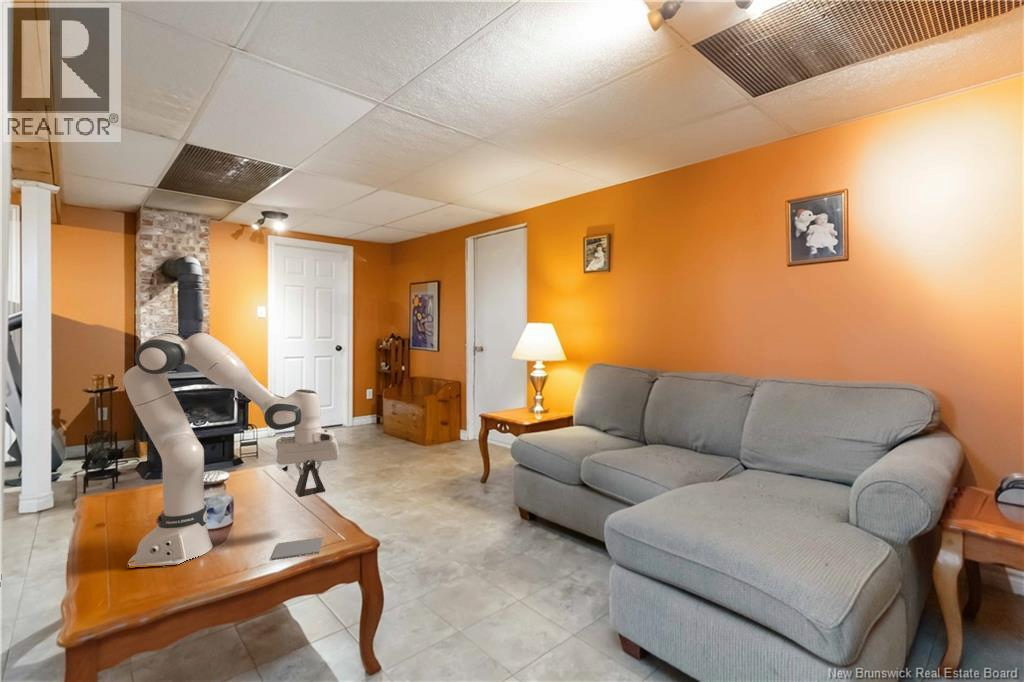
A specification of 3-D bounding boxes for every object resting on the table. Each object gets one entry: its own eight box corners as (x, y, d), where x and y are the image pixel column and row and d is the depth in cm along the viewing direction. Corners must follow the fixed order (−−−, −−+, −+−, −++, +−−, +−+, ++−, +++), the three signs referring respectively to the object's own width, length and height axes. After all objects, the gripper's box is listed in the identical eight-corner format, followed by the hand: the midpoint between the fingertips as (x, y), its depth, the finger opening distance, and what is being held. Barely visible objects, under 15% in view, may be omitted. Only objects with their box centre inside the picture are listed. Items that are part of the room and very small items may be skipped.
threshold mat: (271, 560, 153) (271, 558, 153) (278, 544, 164) (277, 543, 164) (319, 553, 157) (318, 551, 157) (322, 538, 168) (322, 537, 168)
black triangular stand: (298, 497, 168) (296, 462, 167) (294, 492, 173) (293, 458, 172) (325, 491, 173) (324, 458, 172) (321, 487, 178) (320, 454, 177)
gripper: (274, 439, 166) (275, 480, 167) (337, 435, 172) (338, 474, 172) (277, 435, 172) (278, 474, 173) (339, 431, 178) (339, 469, 178)
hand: (309, 474), depth 172 cm, fingers closed on black triangular stand, 3 cm apart
